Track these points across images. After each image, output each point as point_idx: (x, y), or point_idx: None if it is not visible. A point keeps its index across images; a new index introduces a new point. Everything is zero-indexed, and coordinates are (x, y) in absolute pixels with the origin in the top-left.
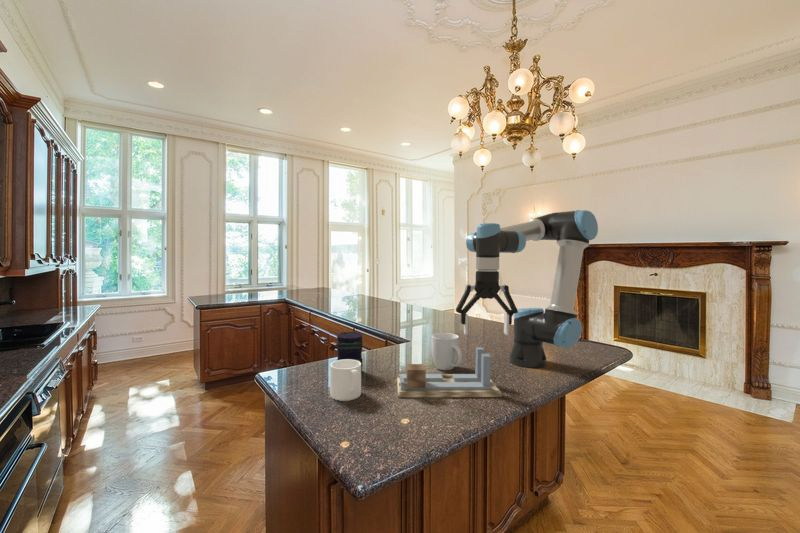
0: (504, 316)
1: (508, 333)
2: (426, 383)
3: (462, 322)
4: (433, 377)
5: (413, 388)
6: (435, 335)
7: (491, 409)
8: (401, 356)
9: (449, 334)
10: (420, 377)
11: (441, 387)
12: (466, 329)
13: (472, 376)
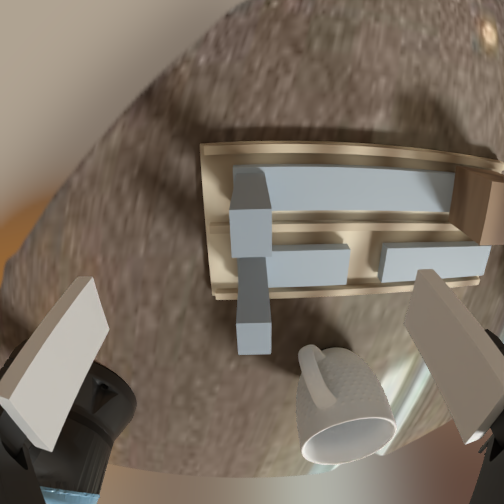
0: (55, 429)
1: (73, 283)
2: (445, 203)
3: (495, 338)
4: (413, 252)
5: None
6: (370, 448)
7: (264, 49)
8: (408, 410)
9: (322, 460)
10: (488, 175)
11: (410, 170)
12: (447, 292)
13: (281, 264)
